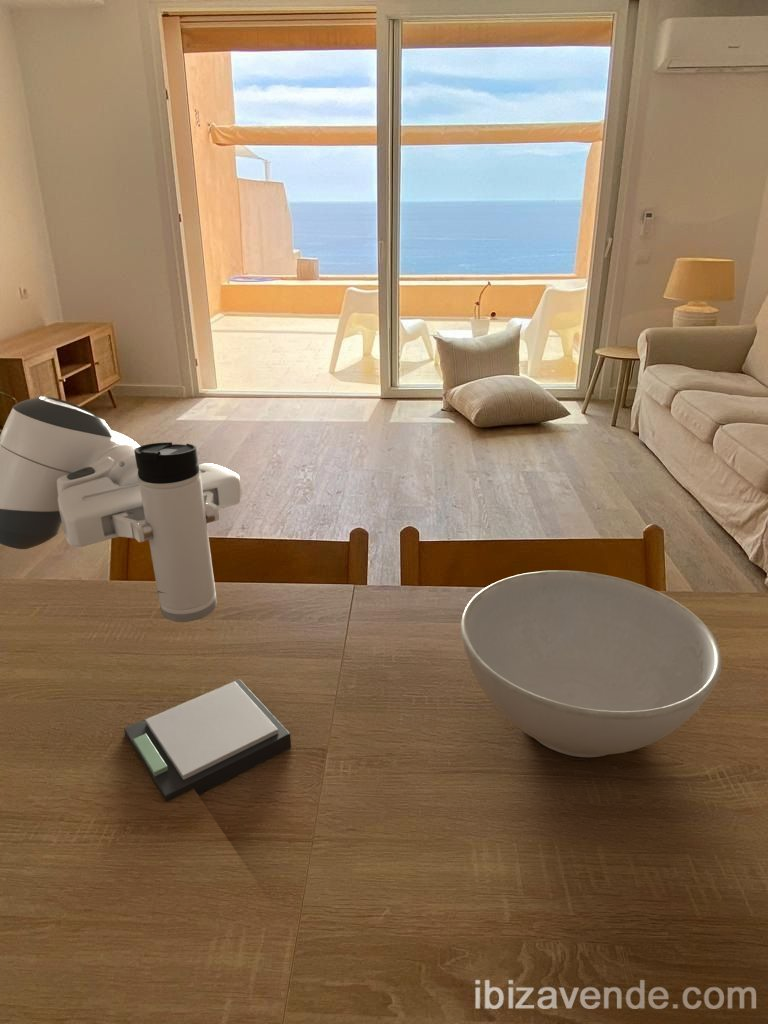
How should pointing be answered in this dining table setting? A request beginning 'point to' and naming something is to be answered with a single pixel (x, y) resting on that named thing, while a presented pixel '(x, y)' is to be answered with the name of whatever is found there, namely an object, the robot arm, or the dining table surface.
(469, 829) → the dining table surface
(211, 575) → the travel mug
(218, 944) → the dining table surface
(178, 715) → the kitchen scale
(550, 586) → the decorative bowl
